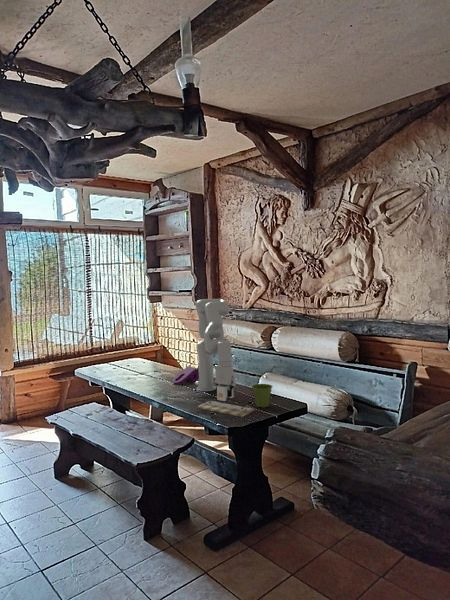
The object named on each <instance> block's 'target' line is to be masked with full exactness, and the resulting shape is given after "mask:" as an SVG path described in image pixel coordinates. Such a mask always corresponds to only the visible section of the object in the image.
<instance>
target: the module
mask: <svg viewBox="0 0 450 600" xmlns="http://www.w3.org/2000/svg"><path fill="white" fill-rule="evenodd" d="M232 385H233V384H232ZM227 391H228V386H227V385H223V384H221V385H218V386H217V385H216V396H217V397H216V398H217V399H216V400H217V401H222V402H226V401H227V398H230V399H232V398H234V388H233V389H232V396H231V397H228V392H227Z"/></svg>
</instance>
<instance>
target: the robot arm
mask: <svg viewBox="0 0 450 600" xmlns="http://www.w3.org/2000/svg"><path fill="white" fill-rule="evenodd" d="M195 310H196V312H197V313H196V314H197V316H198V336H199V338H200V339H203V340H200V341H198V342H197V343H196V353H197V359H198V373H199V379H198V381H196V382H194V385H197V387H196V390H197V391H200V392H212V391H215V390H217V386H218V385H221V384H223V385H227V386H228V391H227V392H228V397H227V398H229V397H231V396H232V389H233V390H234V388H235V386H237V382H236V381H235V373H234V367H233V365H232V364H233V363H232V342H231V341H230V339H228V338H225V335H224V334H225V333H224V332H225V331H224V327H223V325H224V322H223V318H222V316H227V315H229V313H230V306H229V304H228V302H227V301H226V300H225V299H223V298H204V299H203V298H202V299H198V300H196V302H195ZM213 355H216V356H217V360H216V363H217V365H216V368H215V375H214V362H213V359H212V358H211V357H210V356H213ZM214 376H215V377H214ZM232 384H233V385H232Z"/></svg>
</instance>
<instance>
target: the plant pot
mask: <svg viewBox="0 0 450 600" xmlns="http://www.w3.org/2000/svg"><path fill="white" fill-rule="evenodd" d="M251 388H252V391H253V396H254V403H255V406H256V407H257V408H268V407H269V406H270V400H271V393H272V388H273V385H272V384H269V383H255V384H253V385H251Z"/></svg>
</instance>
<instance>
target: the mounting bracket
mask: <svg viewBox="0 0 450 600" xmlns="http://www.w3.org/2000/svg"><path fill="white" fill-rule="evenodd" d="M171 381H172V382H173V383H172V384H173V385H175V384H177V385H176V386H179V385H182V384H184V383H185V382H186V381H189V382H192V383H195V382H196V381H199V369H198V368H197V367H194V366H189V365H187V366H185V368H184V369H183V370H181V371H180V372H179V373H178V374H176V375H175V376H174V377H173V378H172V380H171Z"/></svg>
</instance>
